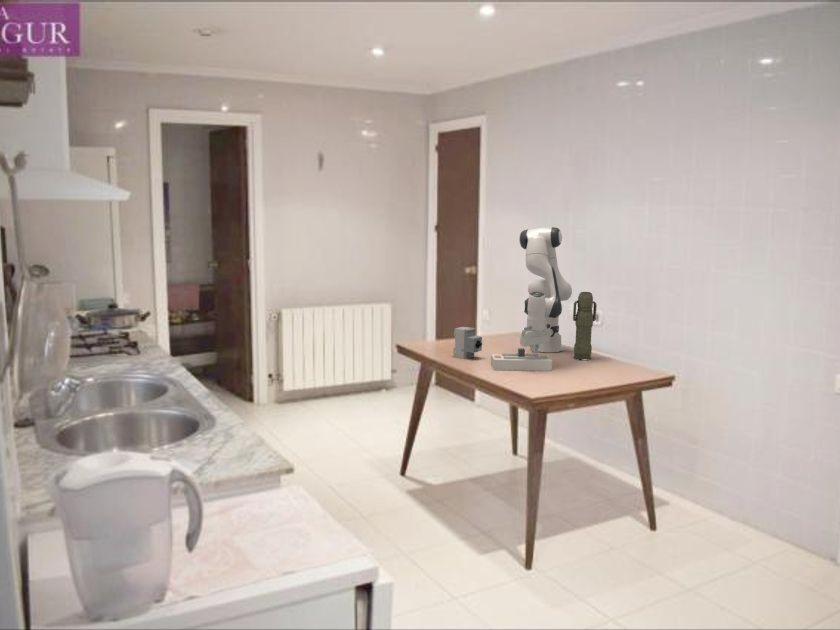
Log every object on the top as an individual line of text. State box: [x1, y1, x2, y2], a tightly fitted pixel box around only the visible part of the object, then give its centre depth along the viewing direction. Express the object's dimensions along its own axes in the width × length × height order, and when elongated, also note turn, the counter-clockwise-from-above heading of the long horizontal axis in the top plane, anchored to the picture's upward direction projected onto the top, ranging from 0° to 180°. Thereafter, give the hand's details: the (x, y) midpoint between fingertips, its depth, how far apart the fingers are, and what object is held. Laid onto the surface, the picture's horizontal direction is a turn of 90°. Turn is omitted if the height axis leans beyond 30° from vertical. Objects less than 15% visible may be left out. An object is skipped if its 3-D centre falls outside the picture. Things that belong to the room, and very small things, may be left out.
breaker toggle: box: [517, 347, 526, 357], centre depth 354 cm, size 3×3×4 cm
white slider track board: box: [490, 353, 553, 372], centre depth 355 cm, size 13×28×6 cm, turn 91°
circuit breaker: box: [452, 326, 483, 360], centre depth 375 cm, size 8×14×15 cm, turn 53°
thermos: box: [572, 291, 597, 360], centre depth 376 cm, size 9×12×35 cm
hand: (534, 353), depth 354 cm, fingers closed
